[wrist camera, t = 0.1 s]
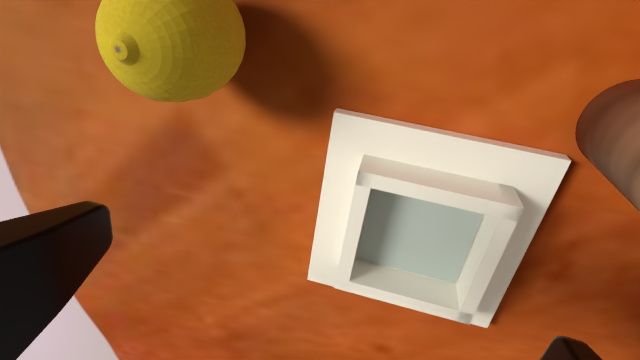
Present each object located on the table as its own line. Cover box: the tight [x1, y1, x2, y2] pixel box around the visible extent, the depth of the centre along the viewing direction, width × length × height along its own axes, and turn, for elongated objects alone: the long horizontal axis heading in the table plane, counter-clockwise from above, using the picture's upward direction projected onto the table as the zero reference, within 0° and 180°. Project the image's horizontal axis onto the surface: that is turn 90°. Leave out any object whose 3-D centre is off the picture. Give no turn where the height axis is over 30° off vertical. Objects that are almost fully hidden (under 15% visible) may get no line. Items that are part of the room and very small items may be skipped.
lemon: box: [95, 0, 246, 102], centre depth 17 cm, size 6×6×8 cm
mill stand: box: [307, 108, 571, 328], centre depth 22 cm, size 12×12×3 cm
